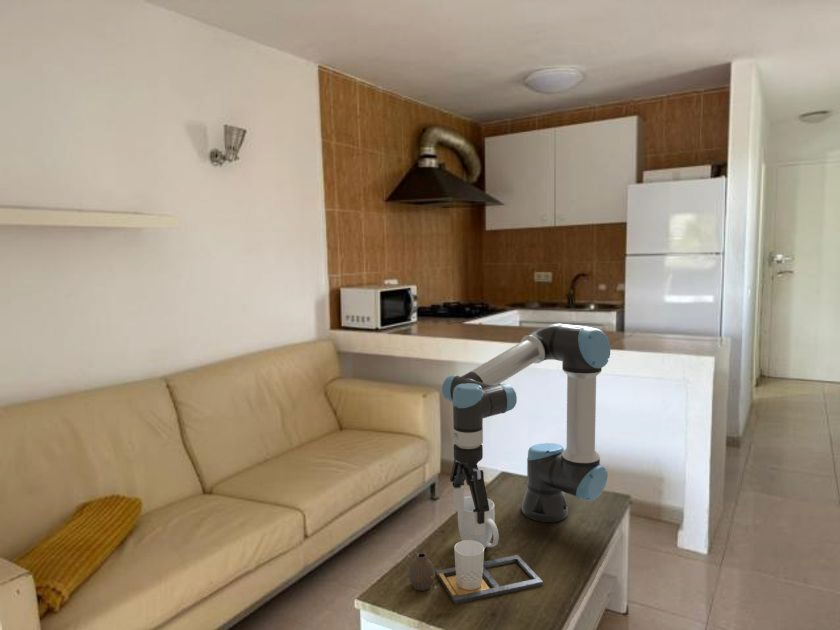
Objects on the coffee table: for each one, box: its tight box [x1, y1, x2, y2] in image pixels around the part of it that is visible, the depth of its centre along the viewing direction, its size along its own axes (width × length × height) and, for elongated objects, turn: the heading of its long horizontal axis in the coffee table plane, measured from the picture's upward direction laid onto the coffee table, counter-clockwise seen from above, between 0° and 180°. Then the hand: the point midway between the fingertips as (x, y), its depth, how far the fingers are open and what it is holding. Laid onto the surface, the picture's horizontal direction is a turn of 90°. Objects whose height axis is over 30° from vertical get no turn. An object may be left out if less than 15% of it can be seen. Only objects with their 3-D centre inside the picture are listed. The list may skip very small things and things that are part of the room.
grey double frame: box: [435, 554, 544, 605], centre depth 154 cm, size 25×14×1 cm, turn 108°
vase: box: [408, 552, 436, 592], centre depth 151 cm, size 7×7×9 cm
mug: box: [457, 495, 500, 549], centre depth 169 cm, size 15×11×13 cm
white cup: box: [453, 540, 485, 590], centre depth 151 cm, size 8×8×10 cm
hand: (468, 521), depth 150 cm, fingers open, 13 cm apart
